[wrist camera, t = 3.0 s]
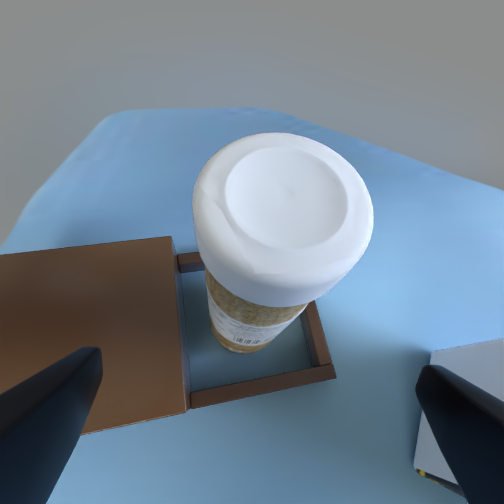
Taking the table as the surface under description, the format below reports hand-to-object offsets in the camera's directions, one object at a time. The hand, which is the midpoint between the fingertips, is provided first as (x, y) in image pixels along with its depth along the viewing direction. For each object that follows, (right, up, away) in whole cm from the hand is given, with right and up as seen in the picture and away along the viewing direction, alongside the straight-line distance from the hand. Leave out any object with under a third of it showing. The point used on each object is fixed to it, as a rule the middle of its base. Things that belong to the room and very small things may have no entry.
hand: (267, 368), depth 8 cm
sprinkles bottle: (-1, -1, +11) cm, 11 cm away
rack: (-5, -2, +10) cm, 12 cm away
